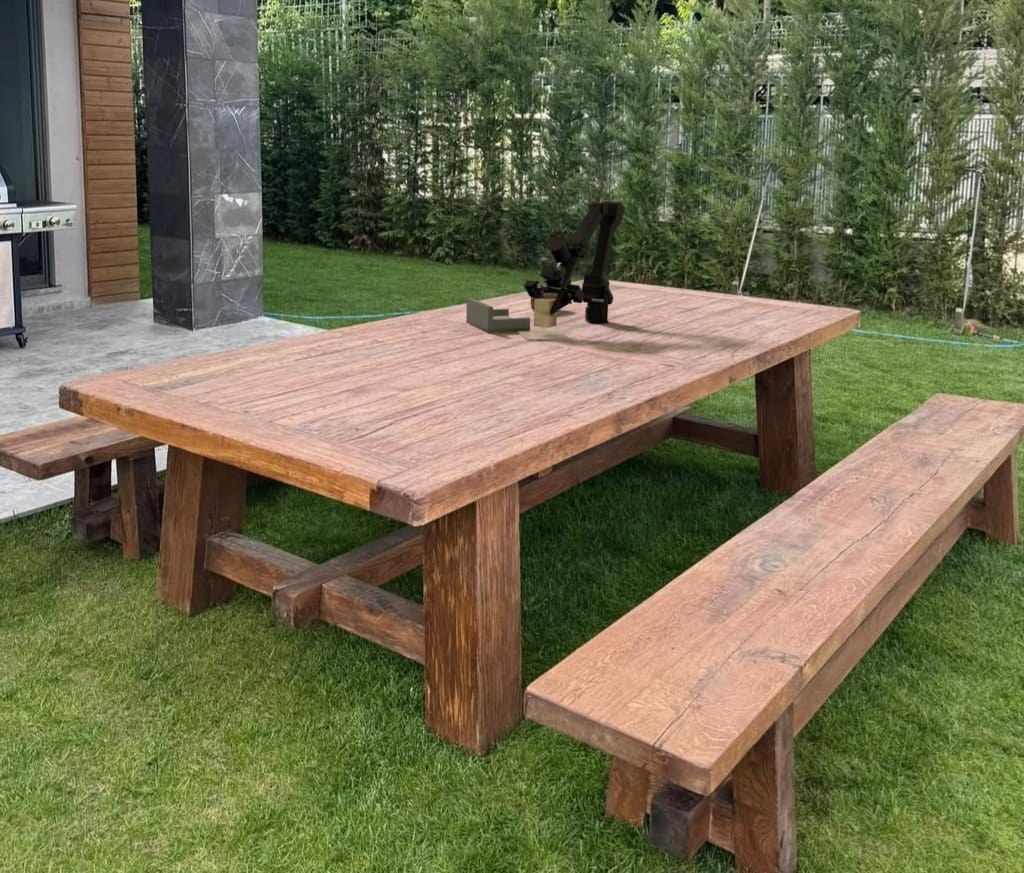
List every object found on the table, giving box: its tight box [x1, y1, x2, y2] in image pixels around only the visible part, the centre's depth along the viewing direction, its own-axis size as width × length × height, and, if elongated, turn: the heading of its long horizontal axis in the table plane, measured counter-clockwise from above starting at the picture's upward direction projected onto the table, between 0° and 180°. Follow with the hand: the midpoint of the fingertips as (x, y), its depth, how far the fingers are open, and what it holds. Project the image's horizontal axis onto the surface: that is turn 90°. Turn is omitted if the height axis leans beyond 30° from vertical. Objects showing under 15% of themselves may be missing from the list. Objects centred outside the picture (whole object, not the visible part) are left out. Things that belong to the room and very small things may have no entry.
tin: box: [530, 293, 557, 312], centre depth 380 cm, size 15×3×8 cm, turn 143°
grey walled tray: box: [465, 297, 531, 334], centre depth 349 cm, size 14×19×8 cm
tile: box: [517, 330, 571, 342], centre depth 335 cm, size 13×13×1 cm
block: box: [533, 298, 558, 329], centre depth 334 cm, size 5×5×8 cm
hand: (543, 313), depth 333 cm, fingers closed on block, 5 cm apart
